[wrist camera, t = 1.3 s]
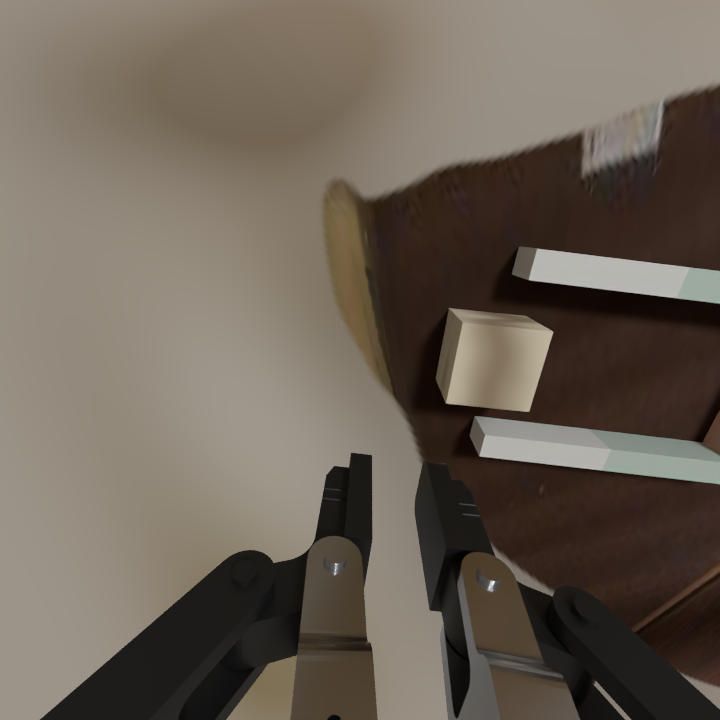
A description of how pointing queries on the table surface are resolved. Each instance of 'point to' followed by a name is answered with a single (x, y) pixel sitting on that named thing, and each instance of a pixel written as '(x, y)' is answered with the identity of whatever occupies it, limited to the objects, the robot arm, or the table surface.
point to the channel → (594, 447)
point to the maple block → (491, 359)
